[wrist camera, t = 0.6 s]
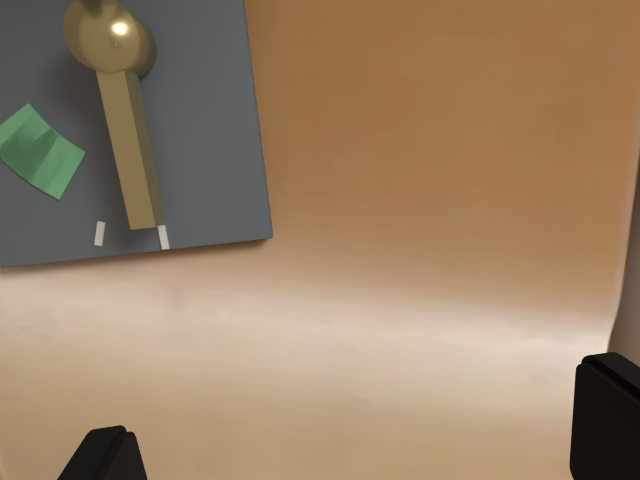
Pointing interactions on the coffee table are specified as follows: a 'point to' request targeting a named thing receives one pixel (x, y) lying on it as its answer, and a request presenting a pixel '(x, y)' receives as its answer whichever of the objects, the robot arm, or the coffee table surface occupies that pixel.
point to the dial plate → (96, 147)
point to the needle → (121, 96)
